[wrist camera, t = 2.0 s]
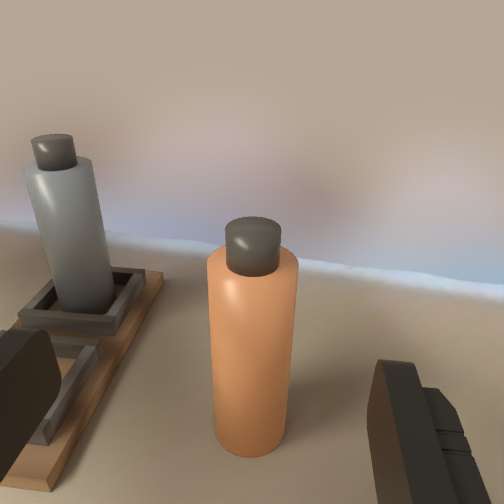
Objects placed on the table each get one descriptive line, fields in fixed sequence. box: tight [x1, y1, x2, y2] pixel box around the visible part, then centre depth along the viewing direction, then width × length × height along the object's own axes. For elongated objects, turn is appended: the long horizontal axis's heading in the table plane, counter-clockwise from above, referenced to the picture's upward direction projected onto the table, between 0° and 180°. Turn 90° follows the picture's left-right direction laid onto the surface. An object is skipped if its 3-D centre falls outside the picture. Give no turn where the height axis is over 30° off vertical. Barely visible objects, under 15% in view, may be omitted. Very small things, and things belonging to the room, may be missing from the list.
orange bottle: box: [207, 217, 298, 457], centre depth 24 cm, size 5×5×15 cm
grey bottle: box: [23, 134, 117, 315], centre depth 34 cm, size 5×5×15 cm
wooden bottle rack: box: [0, 267, 164, 492], centre depth 33 cm, size 22×10×3 cm, turn 173°
